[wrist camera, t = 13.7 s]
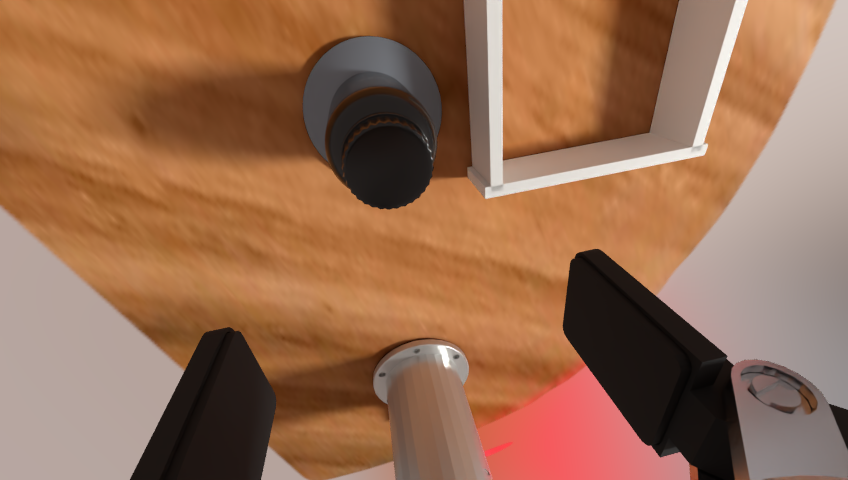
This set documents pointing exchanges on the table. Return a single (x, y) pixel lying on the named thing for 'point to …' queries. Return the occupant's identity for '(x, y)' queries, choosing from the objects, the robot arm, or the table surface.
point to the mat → (359, 59)
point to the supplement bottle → (380, 140)
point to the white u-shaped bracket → (667, 141)
